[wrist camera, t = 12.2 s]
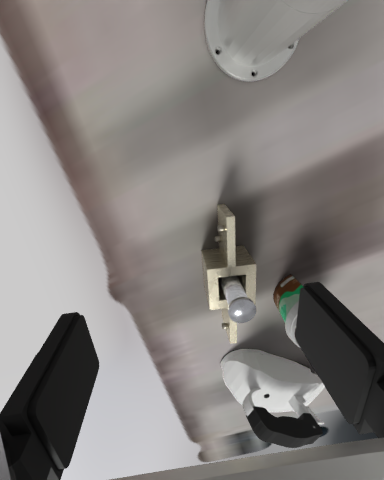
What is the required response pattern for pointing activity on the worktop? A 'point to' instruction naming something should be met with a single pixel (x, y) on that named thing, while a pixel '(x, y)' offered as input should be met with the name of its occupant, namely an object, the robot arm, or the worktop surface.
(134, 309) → the worktop surface
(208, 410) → the worktop surface
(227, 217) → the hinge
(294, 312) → the food container
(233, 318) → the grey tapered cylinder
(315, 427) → the iron
